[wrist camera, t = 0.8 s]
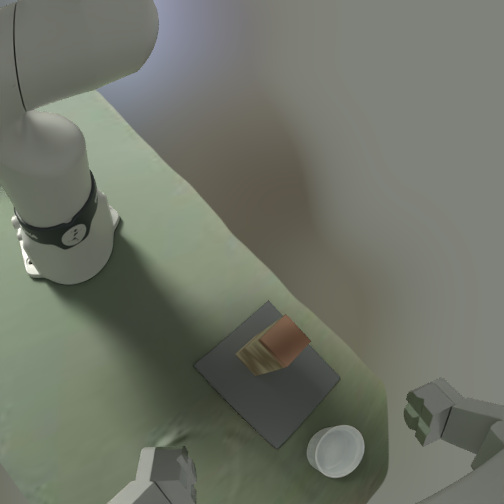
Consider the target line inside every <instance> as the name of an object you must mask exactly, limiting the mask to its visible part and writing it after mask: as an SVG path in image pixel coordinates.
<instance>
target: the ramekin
mask: <svg viewBox="0 0 504 504" xmlns="http://www.w3.org/2000/svg"><path fill="white" fill-rule="evenodd" d="M364 448H365V445H364V440H363V437H362V435H361V433H360V432H359V431H358V430H357V429H356V428H354V427H352V426H349V425H339V426H335V427H327V428H324V429H322V430H320V431H318V432H317V433H315V434H314V435H313V437H312V438H311V439H310V441H309V444H308V447H307V459H308V461H309V463H310V465H311V466H312V467H313V468H315V469H316V470H318V471H320V472H321V473H322V474H324V475H325V476H328V477H331V478H339V477H343V476H346V475H348V474H349V473H351V472H352V471H353V470H354V469H355V468H356V467H357V466H358V465H359V463H360V462H361V460H362V457H363V454H364Z"/></svg>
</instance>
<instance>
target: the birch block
mask: <svg viewBox="0 0 504 504" xmlns="http://www.w3.org/2000/svg"><path fill="white" fill-rule="evenodd" d="M310 342H311V341H310V339H309V338H308V337H307V336H306V335H305V334H304V333H303V332H302V331H301V330H300V329H299V328H298V327H297V325H296V324H295V323H294V322H293V321H292V320H291V319H290V318H289V317H288V316H287V315H284V316H283V317H281V318H280V319H279V320H277V321H276V322H274V323H273V324H272V325H270V326H269V327H267V328H266V329H264V330H263V331H262V332H260V333H259V334H257V335H256V336H255V337H254V338H252V339H251V340H250V341H249V342H248V343H247V344H246V345H245V346H244V347H243V348H241V349H240V350H239V351H238V352H237V353H236V354H235V355H236V356H237V357H238V358H239V359H240V360H241V362H242V363H243V364H244V365H245V366H246V367H247V368H248V369H249V370H250V371H251V372H252V373H253V374H254V375H255V376H258V375H261V374H265V373H268V372H272V371H275V370H279V369H282V368H285V367H288V365H289V364H290V363H291V362H292V361H293V360H294V359H295V358H296V357H297V356H298V355H299V354H300V353H301V352H302V351H303V350H304V348H305V347H306V346H307V345H308V344H309V343H310Z"/></svg>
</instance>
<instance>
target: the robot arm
mask: <svg viewBox="0 0 504 504" xmlns="http://www.w3.org/2000/svg"><path fill="white" fill-rule="evenodd" d="M158 26H159V20H158V13H157V9H156V6H155V4H154V2H153V0H18V1H17V2H15V3H12V4H9V5H6V6H4V7H1V8H0V184H1V186H2V187H3V189H4V190H5V192H6V194H7V195H8V197H9V199H10V200H11V202H12V204H13V206H14V212H15V215H14V216H12V218H11V219H12V223H13V226H14V228H15V229H18V233H17V237H18V240H19V241H20V245H21V250H22V255H23V259H24V264H25V268H26V271H27V273H28V275H29V276H30V277H33V278H47V279H50V280H52V281H54V282H56V283H60V284H77V283H81V282H84V281H86V280H88V279H90V278H92V277H93V276H94V275H96V274H97V273H98V272H99V271H100V270H101V269H102V268H103V267H104V266H105V264H106V263H107V261H108V259H109V257H110V255H111V252H112V248H113V236H114V231H115V229H116V227H117V225H118V223H119V220H120V217H119V214H118V212H117V211H116V210H115V209H114V208H113V207H111V206H110V205H109V204H108V200H107V197H106V195H105V193H102V192H101V191H100V190H99V189H97V186H96V182H95V179H94V177H93V174H92V172H91V170H90V169H89V163H88V157H87V150H86V143H85V138H84V136H83V133H82V132H81V130H80V129H79V127H78V126H77V125H76V124H74V123H73V122H72V121H71V120H69V119H68V118H66V117H64V116H62V115H60V114H56V113H50V112H42V111H37V110H34V109H36V108H39V107H42V106H44V105H47V104H50V103H53V102H56V101H59V100H62V99H65V98H68V97H72V96H75V95H78V94H82V93H85V92H89V91H92V90H95V89H98V88H100V87H102V86H104V85H107V84H109V83H111V82H114V81H116V80H118V79H121V78H123V77H125V76H128V75H130V74H132V73H135V72H137V71H138V70H140V68H141V67H142V66H143V64H144V63H145V62H146V61H147V59H148V58H149V56H150V54H151V52H152V50H153V48H154V46H155V43H156V39H157V35H158V29H159V27H158ZM31 262H32V264H31V265H30V263H31ZM406 400H407V401H408V402H409V403H408V404H407V405H406V407H405V409H404V419H405V422H406V424H407V425H408V427H409V428H410V429H412V430H415V431H416V433H415V437H416V438H417V439H418V441H419V442H420V443H421V445H422V446H426V445H428V444H430V443H432V442H434V441H436V440H438V439H440V438H441V439H442V440H444V441H446V442H449V443H451V444H453V445H456V446H458V447H460V448H463V449H465V450H467V451H470V452H472V453H475V454H477V455H476V456H475V458H474V460H473V462H472V464H471V467H472V469H473V471H472V472H470V473H469V474H467V475H466V476H464V477H462V478H461V479H459V480H458V481H456V482H454V483H453V484H451V485H449V486H448V487H446V488H444V489H442V490H441V491H439V492H437V493H435V494H433V495H432V496H430V497H428V498H426V499H424V500H422V501H420V502H418V503H416V504H504V406H503V405H498V404H494V403H489V402H484V401H480V400H475V399H472V398H466V399H465V398H464V397H463V396H462V395H460V393H458V392H457V391H456V390H455V389H454V388H453V387H452V386H451V385H450V384H449V383H448V382H447V381H446V380H445V379H444V378H439V379H437V380H434V381H432V382H430V383H428V384H425V385H423V386H421V387H419V388H417V389H414V390H412V391H410V392H409V393H408V394H407V398H406ZM196 482H197V475H196V469H195V465H194V462H193V460H192V459H191V458H189V457H188V451H187V449H186V447H185V446H174V447H144V448H143V449H142V450H141V455H140V459H139V464H138V469H137V474H136V479H135V481H131V482H130V483H129V484H128V485H127V486H126V487H125V488H123V489H122V490H121V491H120V492H119V493H118V494H117V495H116V496H115V497H114V498H113V499H111V500H110V501H109V502H108V503H107V504H196V489H195V488H194V486H193V485H194V484H195V483H196Z"/></svg>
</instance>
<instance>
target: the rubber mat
mask: <svg viewBox="0 0 504 504" xmlns="http://www.w3.org/2000/svg"><path fill="white" fill-rule="evenodd" d="M281 317H283V316H282V315H281V313H280V312H279V311H278V310H277V309H276V308H275V307H274V306H273V305H272V304H271V303H270V301H269V300H268V301H267V302H266V303H265V304H264V305H263V306H262V307H261V308H259V309H258V310H257V311H256V312H255V313H254V314H253V315H252V316H250V317H249V318H248V319H247V320H246V321H245V322H244V323H242V324H241V325H240V326H239V327H238V328H237V329H235V330H234V331H233V332H232V333H231V334H230V335H229V336H227V337H226V338H225V339H224V340H223V341H222V342H220V343H219V344H218V345H217V346H216V347H214V348H213V349H212V350H211V351H210V352H209V353H207V354H206V355H205V356H204V357H203V358H201V359H200V360H199V361H198V362H197V363H195V364H194V367H195V368H196V369H197V370H198V371H199V372H200V373H201V374H202V376H203V377H204V378H205V379H206V380H207V381H208V382H209V383H210V384H211V385H212V386H213V387H214V389H215V390H216V391H217V392H218V393H219V394H220V395H221V396H222V397H223V398H224V399H225V400H226V401H227V402H228V403H229V404H230V405H231V406H232V407H233V408H234V409H235V410H236V411H237V412H238V413H239V414H240V415H241V416H242V417H243V418H244V419H245V420H246V421H247V422H248V423H249V424H250V425H251V426H252V427H253V428H254V429H255V430H256V431H257V432H258V433H259V434H260V435H261V436H263V437H264V438H265V439H266V440H267V441H268V442H269V443H270V444H271V445H272V446H273V447H275V448H276V449H278V448H279V447H280V446H281V445H282V444H283V443H284V442H285V441H286V440H287V439H288V438H289V437H290V435H291V434H292V433H293V432H294V431H295V430H296V429H297V428H298V427H299V426H300V425H301V424H302V423H303V421H304V420H305V419H306V418H307V417H308V416H309V415H310V414H311V412H312V411H313V410H314V409H315V408H316V407H317V406H318V404H319V403H320V402H321V401H322V400H323V398H324V397H325V396H326V395H327V394H328V392H329V391H330V390H331V389H332V388H333V386H334V385H335V384H336V383H337V381H338V380H339V379H340V377H339V376H338V375H337V374H336V373H335V372H334V370H333V369H332V368H331V367H330V366H329V365H328V364H327V363H326V362H325V361H324V360H323V359H322V358H321V357H320V356H319V354H318V353H317V352H316V351H315V350H314V349H313V348H312V347H311V346H310V345H309V344H308V345H307V346H306V347H305V348H304V350H303V351H302V352H301V353H300V354H299V355H298V356H297V357H296V358H295V359H294V360H293V361H292V362H291V363H290V364H289V365H288V367H285V368H282V369H279V370H275V371H272V372H268V373H265V374H261V375H258V376H255V375H254V374H253V373H252V372H251V371H250V370H249V369H248V368H247V367H246V366H245V365H244V364H243V363H242V362H241V360H240V359H239V358H238V357H237V356H236V355H235V354H236V353H237V352H238V351H239V350H240V349H241V348H243V347H244V346H245V345H246V344H247V343H248V342H249V341H250V340H251V339H252V338H254V337H255V336H256V335H257V334H259V333H260V332H262V331H263V330H264V329H266V328H267V327H269V326H270V325H272V324H273V323H274V322H276V321H277V320H279V319H280V318H281Z"/></svg>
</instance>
